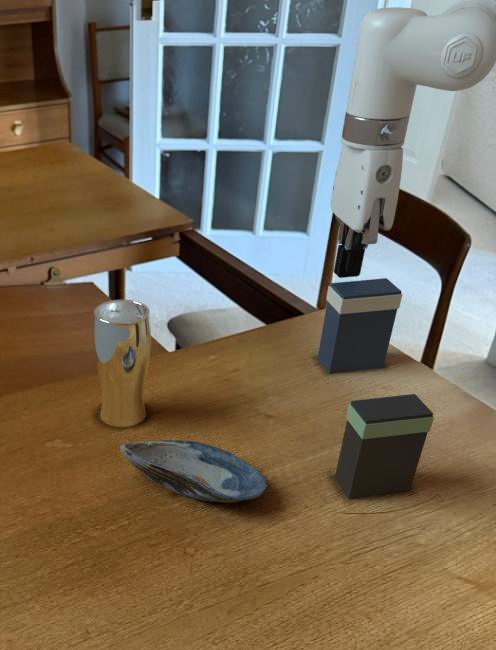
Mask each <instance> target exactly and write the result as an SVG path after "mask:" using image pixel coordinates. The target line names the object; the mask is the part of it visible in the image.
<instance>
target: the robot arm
mask: <svg viewBox="0 0 496 650" xmlns="http://www.w3.org/2000/svg"><path fill="white" fill-rule="evenodd" d="M495 64H496V0H456V1H455V2H453V3H452V4H451V5H449V6H448V7H447V9H445V10H444V11H443V12H442V13H441V14H439V15H429V14H427V13H426V11H424V10H421V9H417V8H412V7H400V6H399V7H397V6H396V7H395V6H394V7H380V8H375V9H372V10H370V11H368V12H367V13H366V14H365V15H364V17H363V19H362V20H361V23H360V27H359V31H358V37H357V43H356V49H355V54H354V62H353V67H352V72H351V79H350V85H349V91H348V97H347V103H346V109H345V114H344V119H343V126H342V132H341V138H340V142H341V143H342V146H341V149H340V153H339V157H338V161H337V165H336V169H335V170H336V171H335V174H334V179H333V183H332V191H331V197H330V210H331V212H332V213H333V214H334V215H335V219H336V221H337V223H338V226H339V227H338V234H337V235H338V236H337V243H338V246H337V251H336V257H335V262H334V266H333V267H334V268H333V273H334V274H335V275H336V276H337V277H338V278H339V279H342V278H343V279H344V278H354V277H355V278H357V277H359V276H360V275H361V272H362V268H363V263H364V258H365V254H366V253H365V252H366V249H368V247H369V245H376V244H377V243H378V239H379V237H378V236H379V229H381V230H382V231H386V232H387V231H390V230H391V229H392V227H393V225H394V220H395V216H396V211H397V206H398V200H399V199H398V198H399V193H400V187H401V181H402V180H401V179H402V172H403V162H404V161H403V159H404V148H403V146H404V144H405V140H406V135H407V131H408V126H409V122H410V117H411V113H412V109H413V104H414V99H415V93H416V90H417V86H421V87H422V86H423V87H428V88H432V89H435V90H436V89H437V90H441V91H446V92H459V91H464V90H468V89H470V88H472V87H474V86H476V85H478V84H479V83H481V82H482V81H483V80H484V79H486V77H487V76H488V75H489V74H490V72H492V70H493V69H494V67H495Z"/></svg>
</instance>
